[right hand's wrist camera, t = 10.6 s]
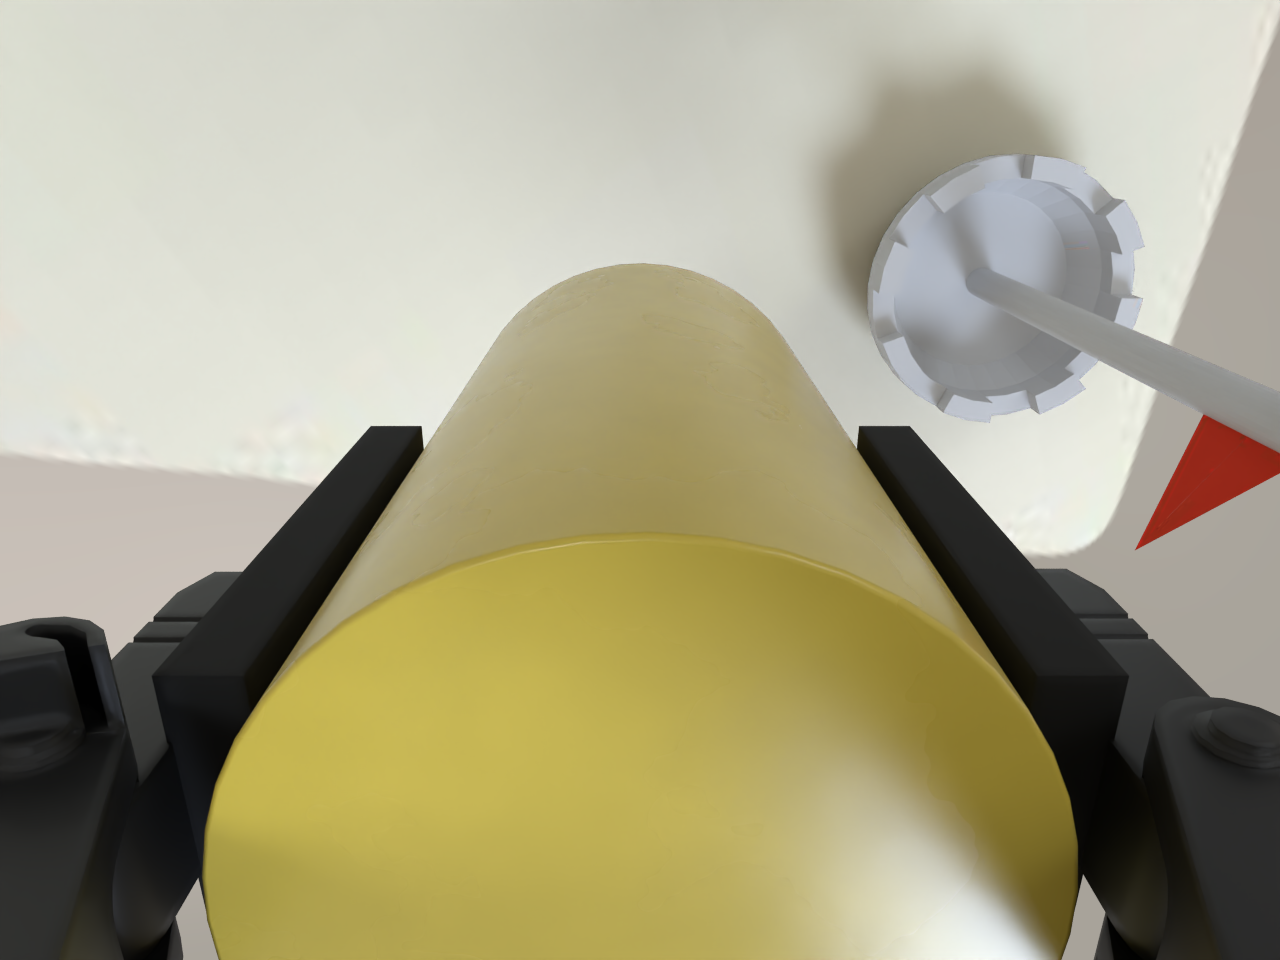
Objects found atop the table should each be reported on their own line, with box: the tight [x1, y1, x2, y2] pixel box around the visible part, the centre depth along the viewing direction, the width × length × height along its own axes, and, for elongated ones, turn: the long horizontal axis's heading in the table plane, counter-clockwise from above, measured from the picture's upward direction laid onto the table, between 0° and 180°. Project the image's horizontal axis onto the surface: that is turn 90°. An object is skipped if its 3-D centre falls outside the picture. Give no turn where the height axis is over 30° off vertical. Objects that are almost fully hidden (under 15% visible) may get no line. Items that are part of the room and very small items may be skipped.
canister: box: [202, 263, 1078, 960], centre depth 12 cm, size 6×6×12 cm
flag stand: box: [867, 154, 1280, 550], centre depth 36 cm, size 13×13×30 cm
